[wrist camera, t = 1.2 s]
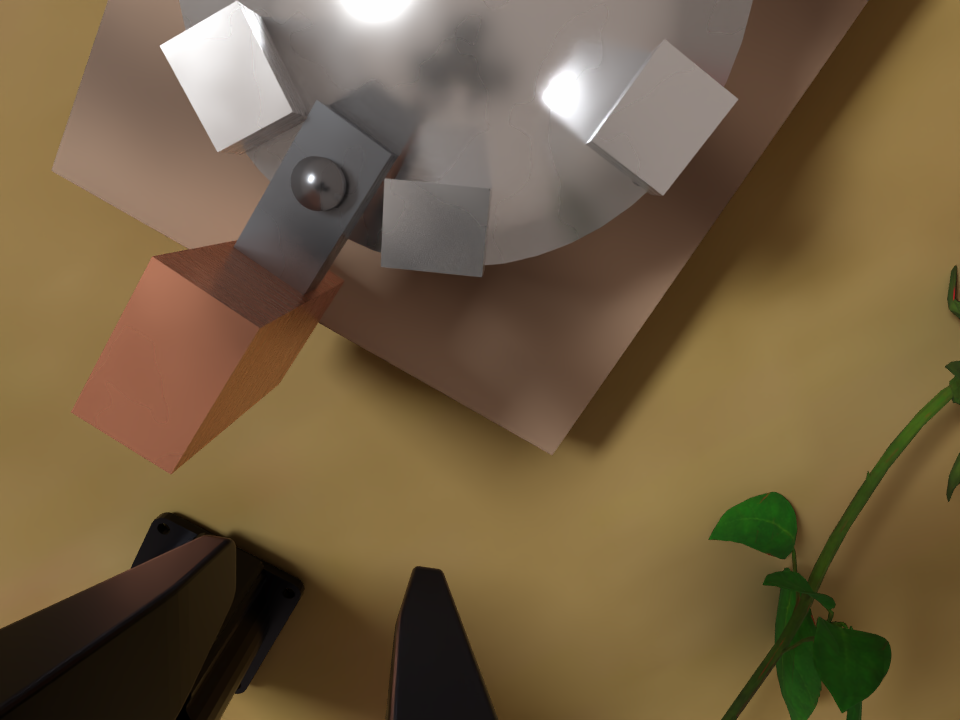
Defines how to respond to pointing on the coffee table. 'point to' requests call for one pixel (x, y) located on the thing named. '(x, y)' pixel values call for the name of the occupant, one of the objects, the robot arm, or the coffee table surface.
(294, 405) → the coffee table surface
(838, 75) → the coffee table surface
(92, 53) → the square disc baseplate
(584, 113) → the round disc with cubes
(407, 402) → the coffee table surface
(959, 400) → the flower
